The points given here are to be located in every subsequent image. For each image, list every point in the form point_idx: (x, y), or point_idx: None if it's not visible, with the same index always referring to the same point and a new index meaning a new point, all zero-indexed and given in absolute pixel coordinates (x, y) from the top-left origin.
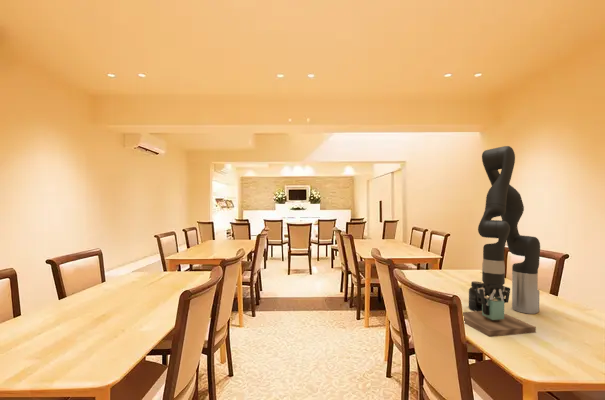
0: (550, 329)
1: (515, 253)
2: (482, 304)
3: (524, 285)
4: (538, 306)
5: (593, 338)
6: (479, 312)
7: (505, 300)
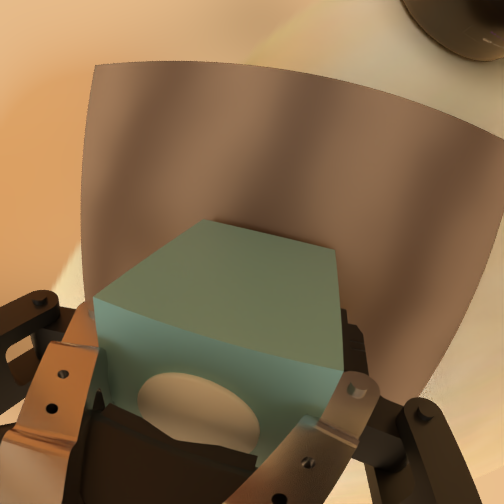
0: (479, 414)
1: None
2: (150, 259)
3: None
4: None
5: (477, 472)
6: (310, 109)
7: (369, 466)
